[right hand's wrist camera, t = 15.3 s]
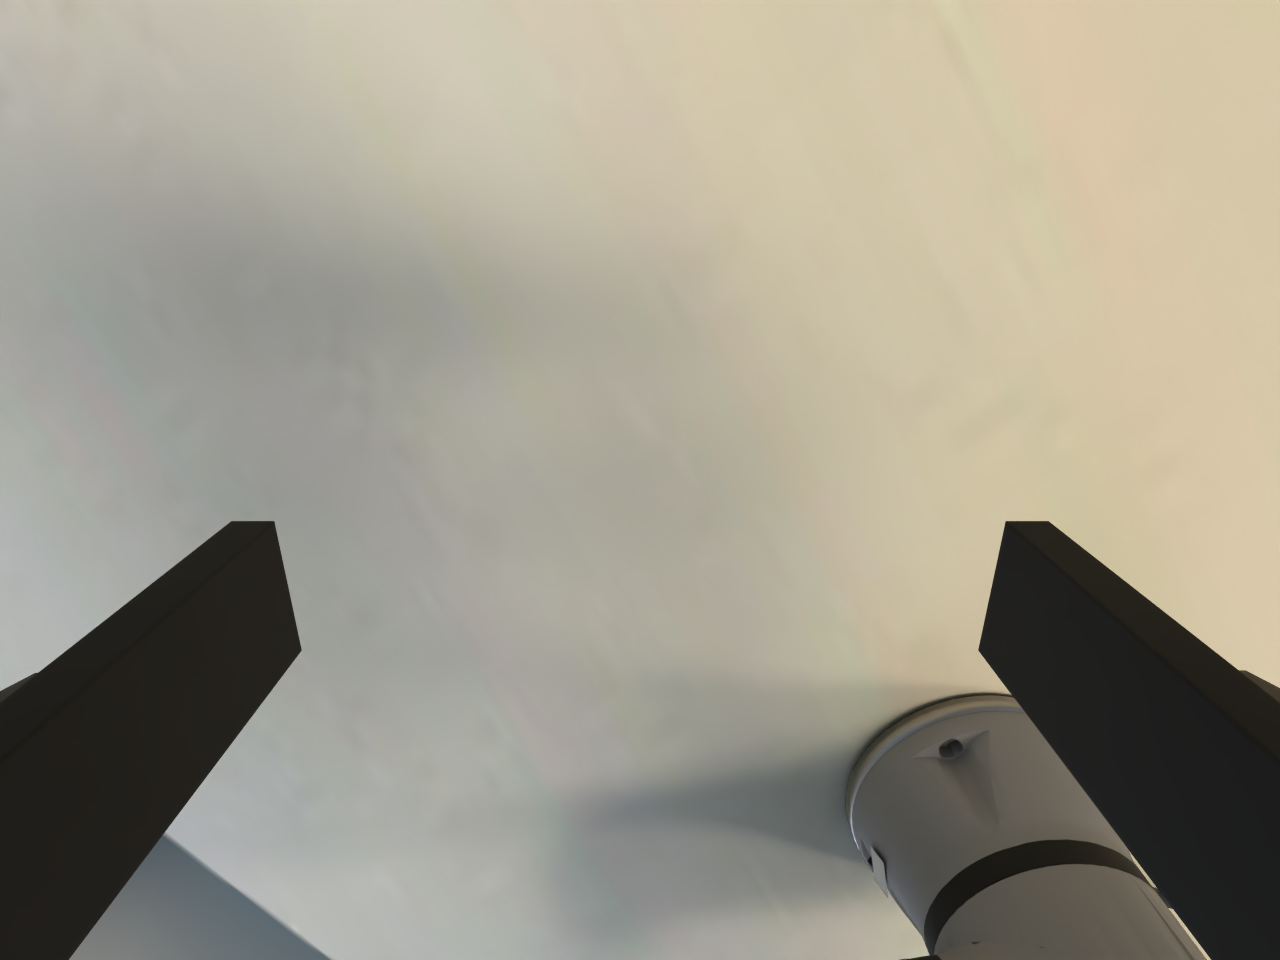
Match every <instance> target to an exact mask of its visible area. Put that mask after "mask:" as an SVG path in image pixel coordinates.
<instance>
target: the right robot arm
mask: <svg viewBox="0 0 1280 960" xmlns="http://www.w3.org/2000/svg"><path fill="white" fill-rule="evenodd" d="M300 652H301V645H300V640H299V636H298V631H297V626H296V621H295V617H294V612H293V607H292V603H291V598H290V593H289V589H288V584H287V579H286V574H285V570H284V565H283V560H282V556H281V551H280V546H279V542H278V537H277V532H276V527H275V523H274V521H231V522H230V523H229V524H227V525H226V526H225V527H224V528H222V529H221V530H220V531H219V532H217V533H216V534H215V535H213V536H212V537H211V538H210V539H208V540H207V541H206V542H204V543H203V544H202V545H201V546H199V547H198V548H197V549H196V550H194V551H193V552H192V553H190V554H189V555H188V556H187V557H185V558H184V559H183V560H182V561H180V562H179V563H178V564H176V565H175V566H174V567H173V568H171V569H170V570H169V571H168V572H166V573H165V574H164V575H162V576H161V577H160V578H159V579H157V580H156V581H155V582H153V583H152V584H151V585H150V586H148V587H147V588H146V589H145V590H143V591H142V592H141V593H139V594H138V595H137V596H136V597H134V598H133V599H132V600H131V601H129V602H128V603H127V604H125V605H124V606H123V607H122V608H120V609H119V610H118V611H117V612H115V613H114V614H113V615H111V616H110V617H109V618H108V619H106V620H105V621H104V622H102V623H101V624H100V625H99V626H97V627H96V628H95V629H94V630H92V631H91V632H90V633H88V634H87V635H86V636H85V637H83V638H82V639H81V640H80V641H78V642H77V643H76V644H74V645H73V646H72V647H71V648H69V649H68V650H67V651H66V652H64V653H63V654H62V655H60V656H59V657H58V658H57V659H55V660H54V661H53V662H51V663H50V664H49V665H48V666H46V667H45V668H44V669H43V670H41V671H40V672H39V673H34V674H32V675H31V676H29V677H27V678H25V679H23V680H21V681H19V682H17V683H15V684H13V685H11V686H9V687H7V688H6V689H4V690H2V691H0V960H69V958H70V957H71V956H72V955H73V953H74V952H75V951H76V949H77V948H78V947H79V945H80V944H81V943H82V941H83V940H84V939H85V937H86V936H87V935H88V933H89V932H90V931H91V929H92V928H93V927H94V925H95V924H96V923H97V921H98V920H99V919H100V917H101V916H102V915H103V913H104V912H105V911H106V909H107V908H108V907H109V905H110V904H111V903H112V901H113V900H114V899H115V897H116V896H117V895H118V893H119V892H120V891H121V890H122V888H123V887H124V886H125V884H126V883H127V882H128V880H129V879H130V877H131V876H132V875H133V873H134V872H135V871H136V870H137V868H138V867H139V866H140V864H141V863H142V861H143V860H144V859H145V858H146V856H147V855H148V854H149V852H150V851H151V850H152V848H153V847H154V846H155V844H156V843H157V842H158V840H159V839H160V838H161V836H162V835H163V834H164V832H165V831H166V830H167V828H168V827H169V826H170V824H171V823H172V822H173V820H174V819H175V818H176V816H177V815H178V814H179V812H180V811H181V810H182V808H183V807H184V806H185V805H186V803H187V802H188V801H189V799H190V798H191V797H192V795H193V794H194V793H195V791H196V790H197V789H198V787H199V786H200V785H201V783H202V782H203V781H204V779H205V778H206V777H207V775H208V774H209V773H210V771H211V770H212V769H213V767H214V766H215V765H216V763H217V762H218V761H219V759H220V758H221V757H222V755H223V754H224V753H225V751H226V750H227V749H228V747H229V746H230V745H231V743H232V742H233V741H234V739H235V738H236V737H237V735H238V734H239V733H240V731H241V730H242V729H243V727H244V726H245V725H246V724H247V722H248V721H249V720H250V718H251V717H252V716H253V714H254V713H255V712H256V710H257V709H258V708H259V706H260V705H261V704H262V702H263V701H264V700H265V698H266V697H267V696H268V694H269V693H270V692H271V690H272V689H273V688H274V686H275V685H276V684H277V682H278V681H279V680H280V678H281V677H282V676H283V674H284V673H285V672H286V670H287V669H288V668H289V666H290V665H291V664H292V662H293V661H294V660H295V658H296V657H297V656H298V654H299V653H300ZM979 652H980V653H981V654H982V656H983V657H984V658H985V660H986V661H987V662H988V664H989V665H990V666H991V668H992V669H993V670H994V672H995V673H996V674H997V676H998V677H999V678H1000V680H1001V681H1002V682H1003V684H1004V685H1005V686H1006V688H1007V689H1008V690H1009V692H1010V693H1011V694H1012V696H1013V697H1007V696H993V695H987V696H971V697H963V698H958V699H952V700H948V701H945V702H941V703H938V704H935V705H932V706H929V707H926V708H924V709H922V710H919V711H917V712H915V713H913V714H911V715H909V716H907V717H905V718H904V719H902V720H900V721H899V722H897V723H895V724H894V725H893V726H891V727H890V728H889V729H887V730H886V731H885V732H883V733H882V734H881V735H880V736H879V737H878V738H877V739H876V740H875V741H874V742H873V743H872V744H871V745H870V746H869V747H868V748H867V749H866V751H865V752H864V753H863V754H862V756H861V757H860V759H859V760H858V762H857V763H856V765H855V767H854V769H853V771H852V774H851V776H850V779H849V782H848V786H847V790H846V798H845V804H846V814H847V818H848V822H849V825H850V828H851V831H852V834H853V837H854V840H855V842H856V844H857V847H858V849H859V850H860V852H861V854H862V856H863V858H864V860H865V862H866V863H867V865H868V866H869V868H870V869H871V870H872V872H873V873H874V878H875V881H876V882H877V884H878V885H879V887H880V888H881V889H882V891H883V892H884V893H885V895H886V896H887V897H888V895H887V888H888V890H889V892H890V894H891V895H892V897H893V898H894V900H895V901H896V902H897V904H898V905H899V907H900V908H901V909H902V911H903V912H904V913H905V915H906V916H907V917H908V918H909V920H910V921H911V922H912V924H913V925H914V926H915V928H916V929H917V930H918V931H919V933H920V934H921V936H922V937H923V940H924V942H925V945H926V947H927V949H928V952H929V955H930V956H924V957H918V958H912V959H901V960H1207V959H1206V958H1205V957H1204V955H1203V954H1202V953H1201V951H1200V950H1199V949H1198V947H1197V946H1196V945H1195V943H1194V942H1193V941H1192V939H1191V938H1190V937H1189V935H1188V934H1187V933H1186V931H1185V930H1184V929H1183V927H1182V926H1181V925H1180V923H1179V922H1178V921H1177V919H1176V918H1175V917H1174V915H1173V914H1172V913H1171V911H1170V910H1169V909H1168V908H1171V909H1174V911H1175V912H1176V913H1177V915H1178V916H1179V917H1180V919H1181V920H1182V921H1183V923H1184V924H1185V925H1186V927H1187V928H1188V929H1189V931H1190V932H1191V933H1192V935H1193V936H1194V937H1195V939H1196V940H1197V941H1198V943H1199V944H1200V945H1201V947H1202V948H1203V949H1204V951H1205V952H1206V953H1207V955H1208V956H1209V957H1210V959H1211V960H1280V688H1278V687H1276V686H1275V685H1273V684H1271V683H1269V682H1267V681H1265V680H1263V679H1261V678H1259V677H1257V676H1255V675H1253V674H1251V673H1249V672H1247V671H1239V670H1237V669H1236V668H1235V667H1234V666H1232V665H1231V664H1230V663H1229V662H1227V661H1226V660H1225V659H1223V658H1222V657H1221V656H1220V655H1218V654H1217V653H1216V652H1214V651H1213V650H1212V649H1211V648H1209V647H1208V646H1207V645H1206V644H1204V643H1203V642H1202V641H1200V640H1199V639H1198V638H1197V637H1195V636H1194V635H1193V634H1192V633H1190V632H1189V631H1188V630H1186V629H1185V628H1184V627H1183V626H1181V625H1180V624H1179V623H1178V622H1176V621H1175V620H1174V619H1172V618H1171V617H1170V616H1169V615H1167V614H1166V613H1165V612H1163V611H1162V610H1161V609H1160V608H1158V607H1157V606H1156V605H1155V604H1153V603H1152V602H1151V601H1149V600H1148V599H1147V598H1146V597H1144V596H1143V595H1142V594H1141V593H1139V592H1138V591H1137V590H1135V589H1134V588H1133V587H1132V586H1130V585H1129V584H1128V583H1127V582H1125V581H1124V580H1123V579H1121V578H1120V577H1119V576H1118V575H1116V574H1115V573H1114V572H1112V571H1111V570H1110V569H1109V568H1107V567H1106V566H1105V565H1104V564H1102V563H1101V562H1100V561H1098V560H1097V559H1096V558H1095V557H1093V556H1092V555H1091V554H1090V553H1088V552H1087V551H1086V550H1084V549H1083V548H1082V547H1081V546H1079V545H1078V544H1077V543H1076V542H1074V541H1073V540H1072V539H1070V538H1069V537H1068V536H1067V535H1065V534H1064V533H1063V532H1061V531H1060V530H1059V529H1058V528H1056V527H1055V526H1054V525H1053V524H1051V523H1050V522H1049V521H1006V523H1005V527H1004V532H1003V537H1002V542H1001V546H1000V551H999V556H998V560H997V565H996V570H995V574H994V579H993V584H992V589H991V593H990V598H989V603H988V607H987V612H986V617H985V621H984V626H983V631H982V636H981V640H980V645H979ZM1129 851H1130V852H1131V854H1132V855H1133V856H1134V858H1135V859H1136V860H1137V862H1138V863H1139V864H1140V866H1141V867H1142V868H1143V870H1144V871H1145V872H1146V874H1147V875H1148V876H1149V878H1150V879H1151V880H1152V882H1153V883H1154V884H1155V886H1156V887H1157V888H1158V890H1159V891H1160V892H1157V891H1155V890H1154V889H1153V887H1152V886H1151V885H1150V883H1149V882H1148V881H1147V879H1146V878H1145V877H1144V875H1143V874H1142V872H1141V871H1140V870H1139V868H1138V867H1137V865H1136V864H1135V863H1134V861H1133V859H1132V857H1131V855H1130V852H1129Z"/></svg>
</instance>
